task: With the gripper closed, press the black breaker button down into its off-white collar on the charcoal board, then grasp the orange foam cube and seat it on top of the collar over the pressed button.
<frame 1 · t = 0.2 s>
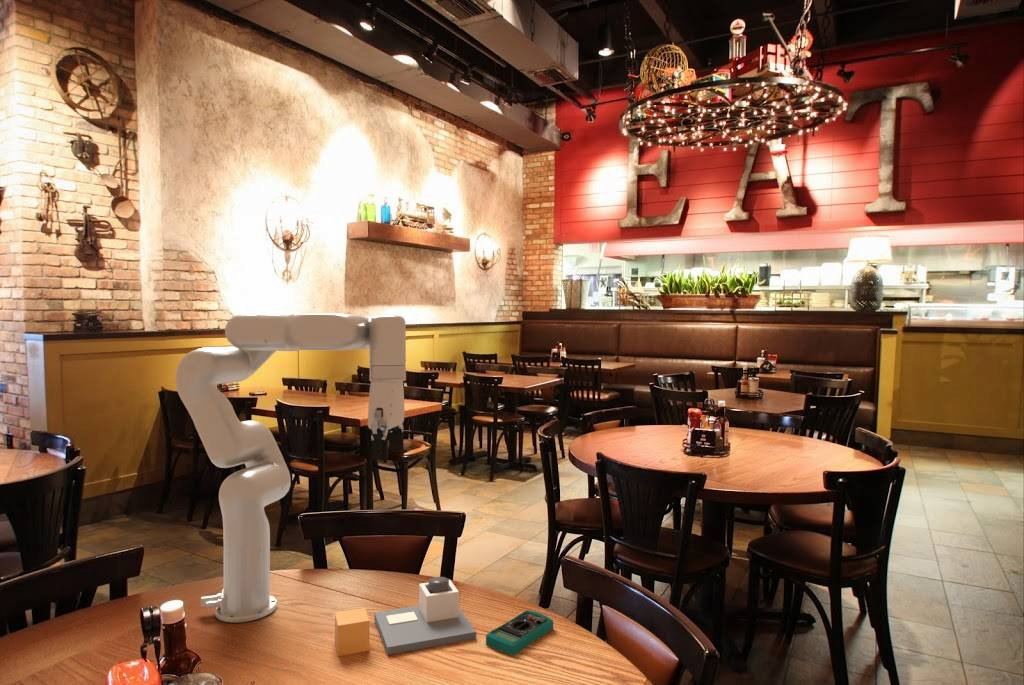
hand: (388, 454, 130), 37 cm above the table, tool pointing down, fingers open, 9 cm apart
digital multimeter: (520, 639, 127), on the table
orange foam cube: (351, 646, 122), on the table
breaker button: (438, 589, 134), point 6 cm above the table, slide at 0.0 cm
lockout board: (423, 628, 130), on the table
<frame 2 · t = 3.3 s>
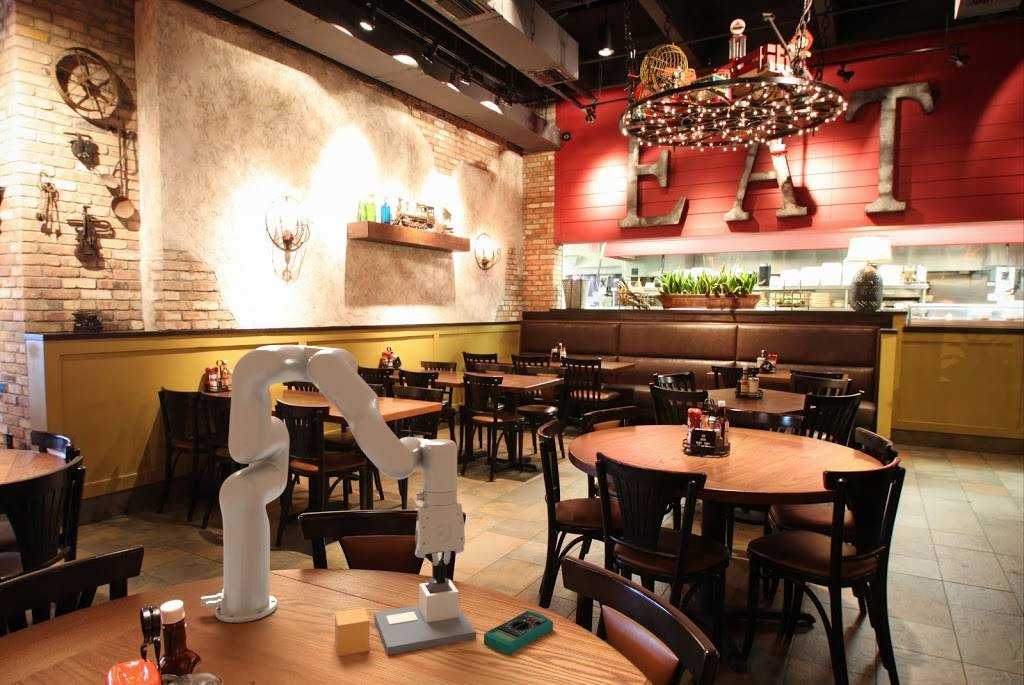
hand: (439, 580, 134), 8 cm above the table, tool pointing down, fingers closed
breaker button: (438, 590, 134), point 6 cm above the table, slide at 0.0 cm, touching gripper
everything else where it was.
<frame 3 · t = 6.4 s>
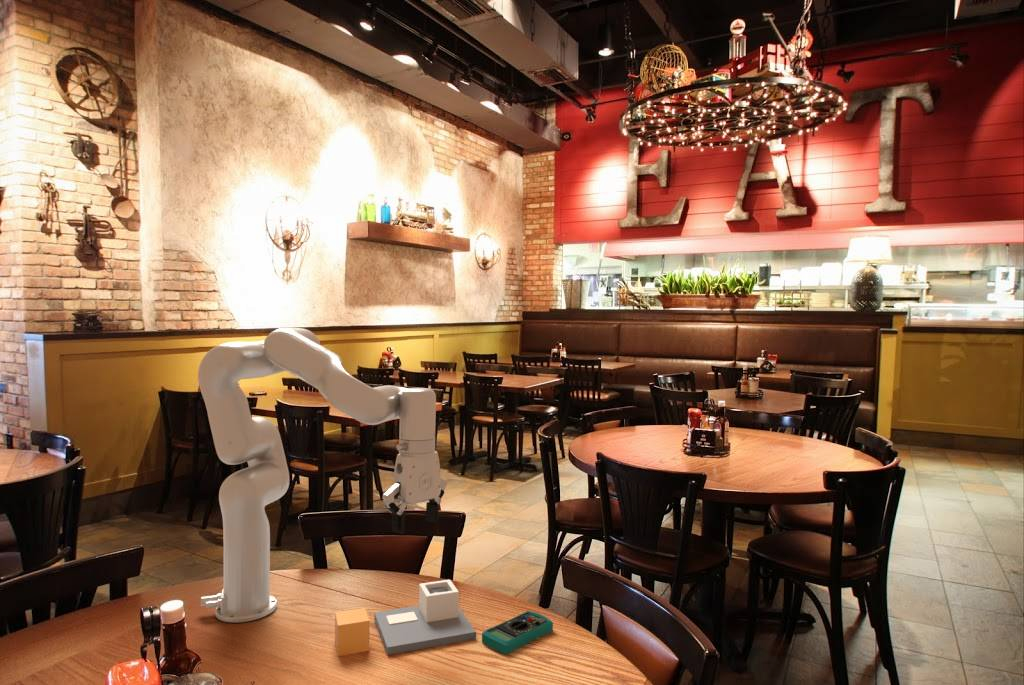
hand: (415, 526, 130), 21 cm above the table, tool pointing down, fingers open, 9 cm apart
breaker button: (438, 600, 134), point 4 cm above the table, slide at 2.4 cm
everything else where it was.
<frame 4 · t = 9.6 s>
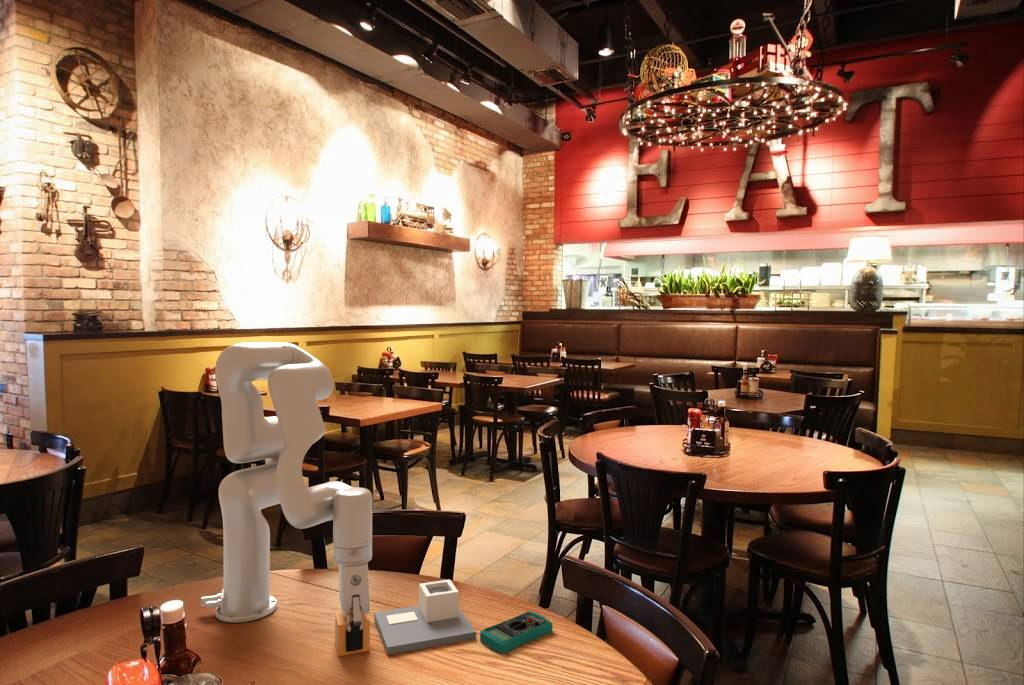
hand: (352, 641, 122), 1 cm above the table, tool pointing down, fingers closed on orange foam cube, 6 cm apart
orange foam cube: (352, 646, 122), on the table, touching gripper
everything else where it was.
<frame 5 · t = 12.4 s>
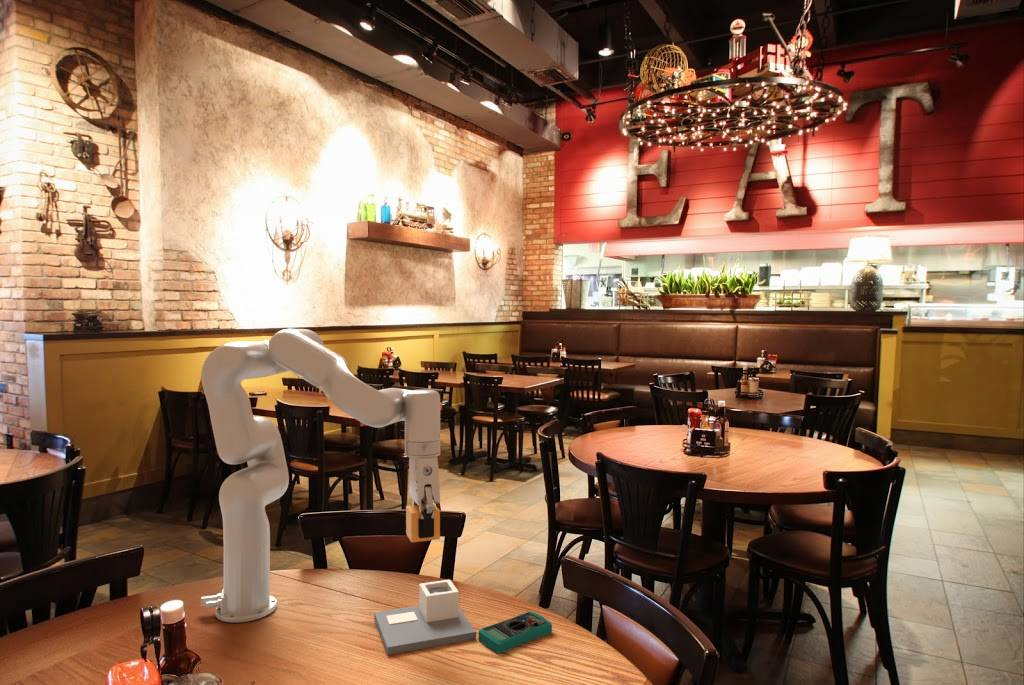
hand: (422, 531, 131), 20 cm above the table, tool pointing down, fingers closed on orange foam cube, 6 cm apart
orange foam cube: (422, 536, 131), point 19 cm above the table, touching gripper
when the fingers open (9 cm above the table, at t = 15.3 s): orange foam cube stays where it is, resting on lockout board.
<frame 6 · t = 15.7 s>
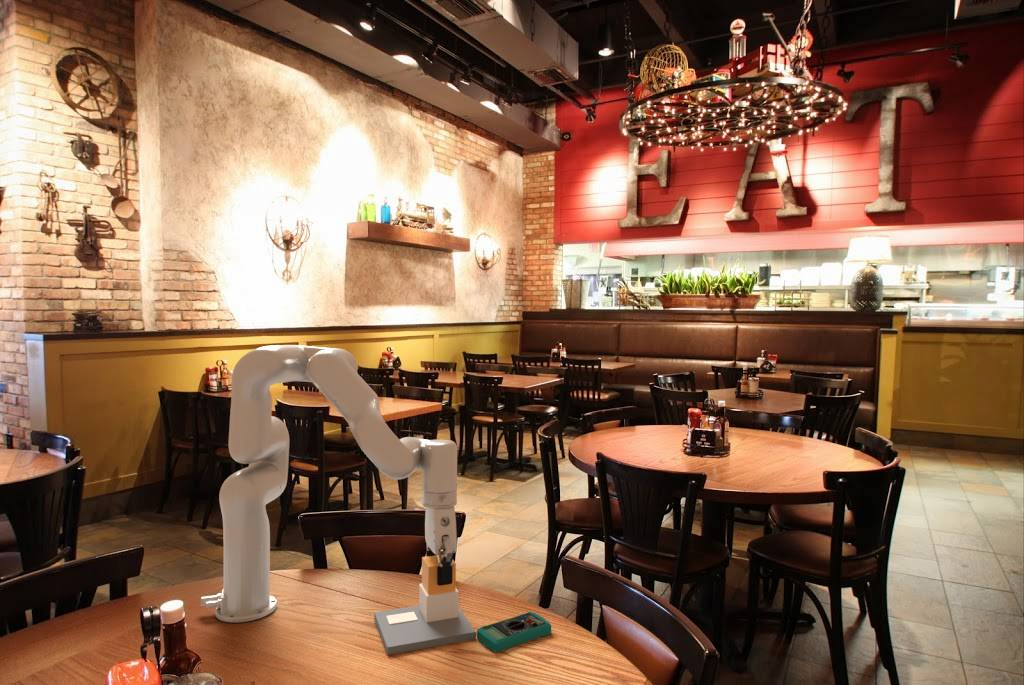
hand: (438, 575, 134), 10 cm above the table, tool pointing down, fingers open, 9 cm apart
orange foam cube: (438, 587, 134), point 7 cm above the table, touching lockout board
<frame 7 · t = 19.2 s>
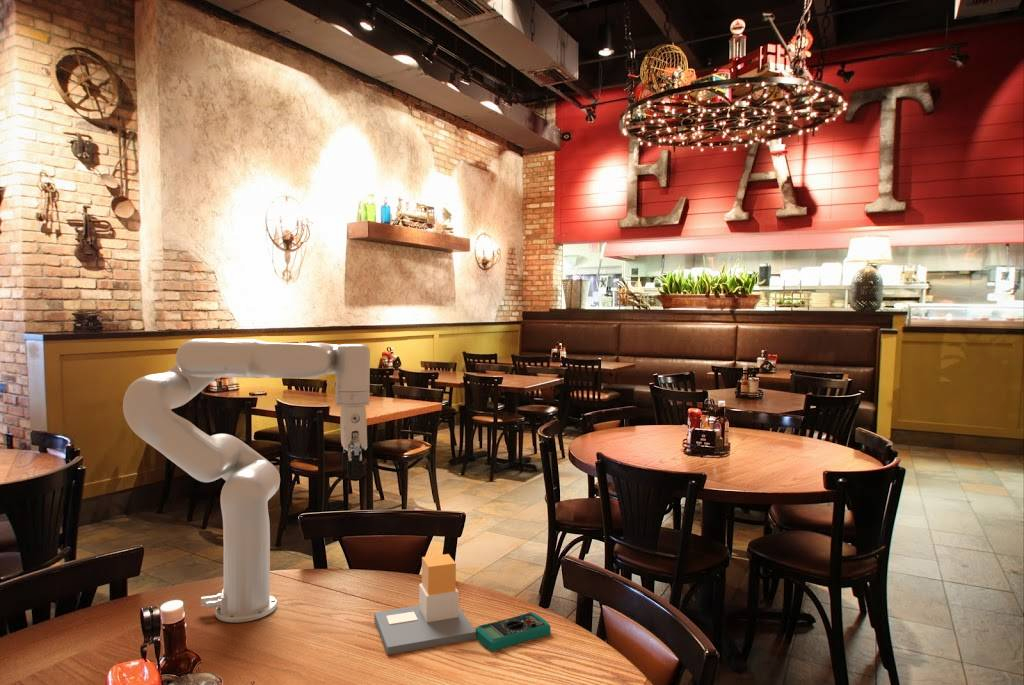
hand: (352, 473, 139), 30 cm above the table, tool pointing down, fingers open, 9 cm apart
at the end: breaker button slide at 2.4 cm; orange foam cube 0.0 cm from the target spot on the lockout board, point 7.0 cm above the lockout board's base; orange foam cube tilted 0° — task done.
